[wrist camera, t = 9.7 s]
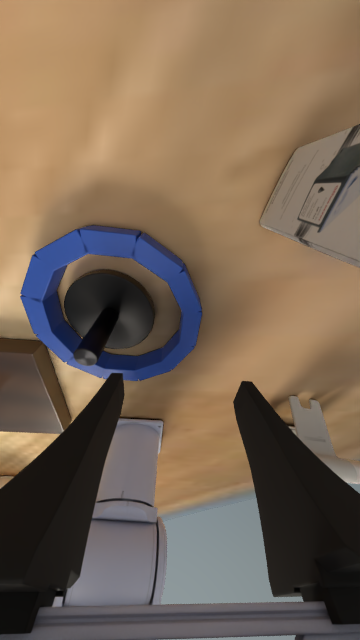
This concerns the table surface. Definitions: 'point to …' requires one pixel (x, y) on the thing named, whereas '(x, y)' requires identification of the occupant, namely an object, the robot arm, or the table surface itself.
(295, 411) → the tablet stand
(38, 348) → the platform
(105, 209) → the table surface
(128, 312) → the post
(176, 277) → the ring
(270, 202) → the ink box
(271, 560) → the robot arm
